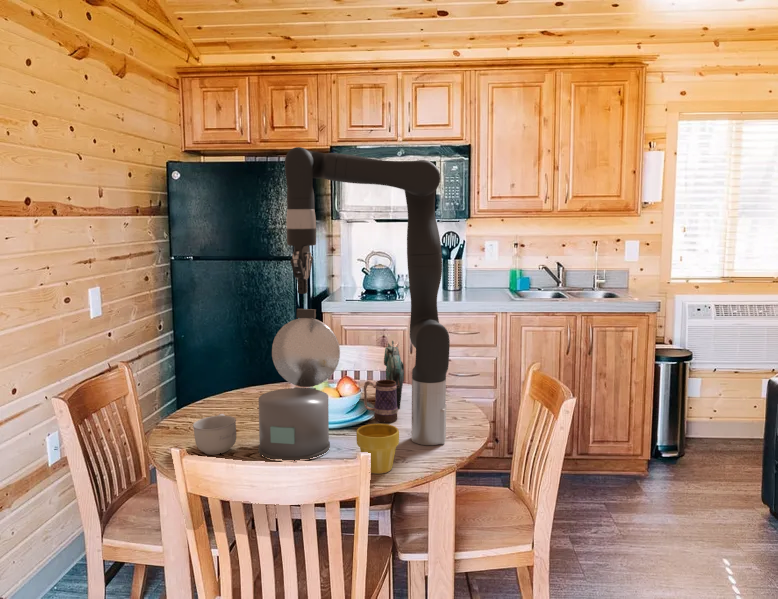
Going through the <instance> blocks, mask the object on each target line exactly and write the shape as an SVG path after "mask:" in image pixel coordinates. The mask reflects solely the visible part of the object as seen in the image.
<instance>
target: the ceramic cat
mask: <svg viewBox="0 0 778 599" xmlns="http://www.w3.org/2000/svg"><path fill="white" fill-rule="evenodd" d="M394 344H395V342H394V340H391V344H390V343H389V342H387V346H386V347H385V348H384V358H383V365H384V366H385V367H386V368H385V380H393V381H395V382H396V386H397V388H396V393H397V407H398V410H400V409H401V403H402V402H401V401H402V394H403V393H402V392H403V384H404V381H405V379H404V378H405V367H404V363H403V361H402V358H401V355H400V351H399V347H398V346H394Z"/></svg>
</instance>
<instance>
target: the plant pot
mask: <svg viewBox="0 0 778 599" xmlns="http://www.w3.org/2000/svg"><path fill="white" fill-rule="evenodd" d="M399 443H400V431H399V428H398V427H396V426H394V425H392V424H389V423H370V424H365V425H362V426H359V427H358V428H357V429H356V445H357V446H358V448H359V449H360V453H361V452H368V453H371V474H374V475H375V474H376V475H377V474H378V475H379V474H387V473H389V472H390V471H391V470H392V468H393V464H394V459H395V454H396V450H397V447H398V445H399Z"/></svg>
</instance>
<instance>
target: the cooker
mask: <svg viewBox="0 0 778 599" xmlns="http://www.w3.org/2000/svg"><path fill="white" fill-rule="evenodd" d="M329 421H330V420H329V395H328V393H327V392H325V391H322V390H319V389H317V388H316V387H300V386H295V387H293V388H292V387H290V388H282V389H275V390H270V391H268V392H264V393H262V394H261V395H260V396H258V430H259V431H258V433H259V434H258V436H259V438H258V440H259V441H258V442H259V444H258V454H259V453H260V454H261V455H263V456H264V457H267V458H270V459H282V460H294V461H295V460H300V459H310V458H313V457H317V456H319V455H322V454H324V453H326V452H327V451H328V450H329V448H330V449H331V441H330V440H329V438H330V433H329V430H330V428H329V423H330V422H329ZM329 451H330V450H329ZM260 454H259V455H260ZM261 455H260V456H261Z"/></svg>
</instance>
